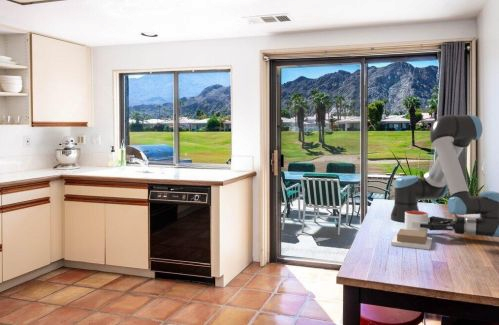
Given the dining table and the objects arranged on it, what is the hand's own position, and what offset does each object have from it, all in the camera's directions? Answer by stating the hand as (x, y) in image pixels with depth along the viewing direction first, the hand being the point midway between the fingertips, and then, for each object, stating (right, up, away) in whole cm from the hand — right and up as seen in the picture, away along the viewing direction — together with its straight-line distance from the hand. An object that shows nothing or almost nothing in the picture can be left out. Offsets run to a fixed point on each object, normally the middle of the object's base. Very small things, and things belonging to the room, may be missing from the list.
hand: (413, 221), depth 204 cm
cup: (+1, -6, 0) cm, 6 cm away
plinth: (-7, -7, -16) cm, 19 cm away
